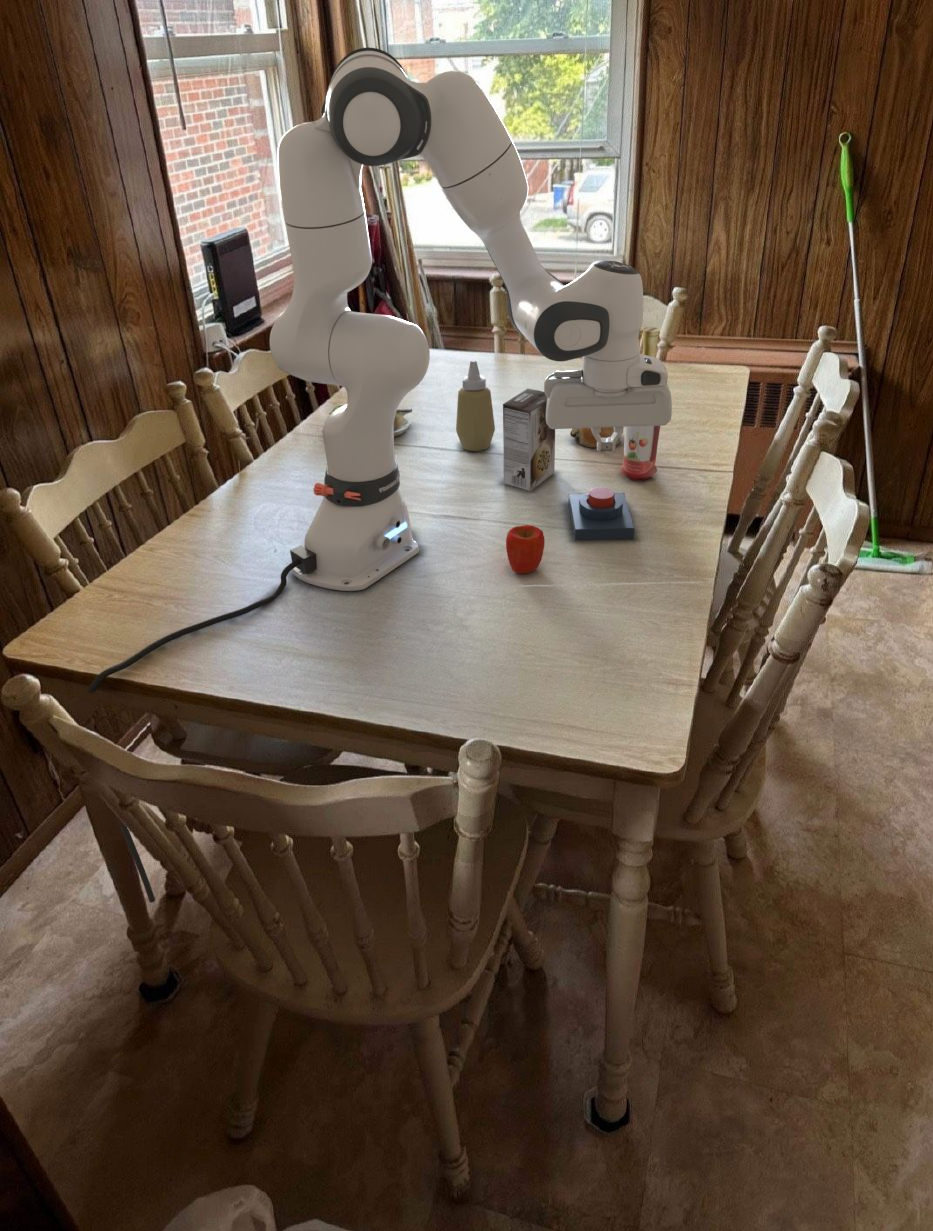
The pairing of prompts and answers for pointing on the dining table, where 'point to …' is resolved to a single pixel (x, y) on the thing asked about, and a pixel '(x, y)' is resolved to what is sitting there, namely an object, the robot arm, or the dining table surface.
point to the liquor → (642, 430)
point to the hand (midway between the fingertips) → (605, 449)
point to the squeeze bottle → (474, 411)
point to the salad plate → (397, 420)
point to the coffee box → (527, 440)
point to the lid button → (601, 497)
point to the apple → (525, 548)
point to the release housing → (600, 519)
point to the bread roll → (590, 436)
